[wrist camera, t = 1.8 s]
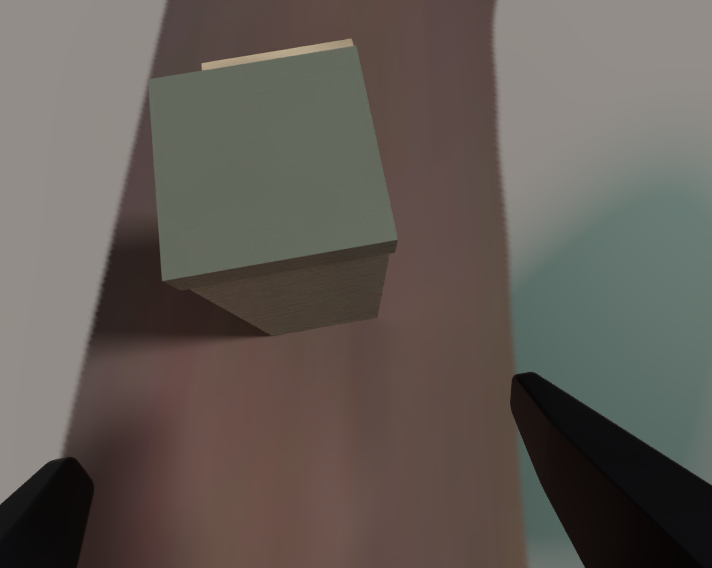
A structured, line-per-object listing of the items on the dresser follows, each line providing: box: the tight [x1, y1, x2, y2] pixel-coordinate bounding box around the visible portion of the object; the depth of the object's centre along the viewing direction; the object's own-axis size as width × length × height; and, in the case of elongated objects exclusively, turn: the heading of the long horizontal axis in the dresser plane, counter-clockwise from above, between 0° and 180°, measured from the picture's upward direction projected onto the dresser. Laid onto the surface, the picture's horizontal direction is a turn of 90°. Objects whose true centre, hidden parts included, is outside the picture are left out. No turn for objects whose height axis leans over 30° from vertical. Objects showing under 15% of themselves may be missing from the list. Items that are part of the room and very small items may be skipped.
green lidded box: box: [148, 46, 398, 336], centre depth 17 cm, size 6×6×12 cm
